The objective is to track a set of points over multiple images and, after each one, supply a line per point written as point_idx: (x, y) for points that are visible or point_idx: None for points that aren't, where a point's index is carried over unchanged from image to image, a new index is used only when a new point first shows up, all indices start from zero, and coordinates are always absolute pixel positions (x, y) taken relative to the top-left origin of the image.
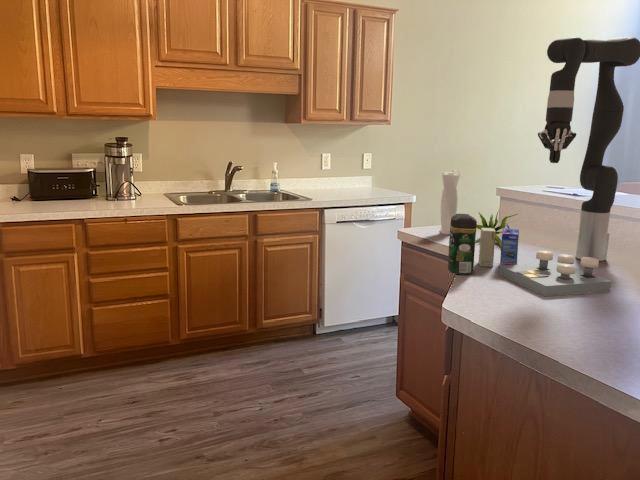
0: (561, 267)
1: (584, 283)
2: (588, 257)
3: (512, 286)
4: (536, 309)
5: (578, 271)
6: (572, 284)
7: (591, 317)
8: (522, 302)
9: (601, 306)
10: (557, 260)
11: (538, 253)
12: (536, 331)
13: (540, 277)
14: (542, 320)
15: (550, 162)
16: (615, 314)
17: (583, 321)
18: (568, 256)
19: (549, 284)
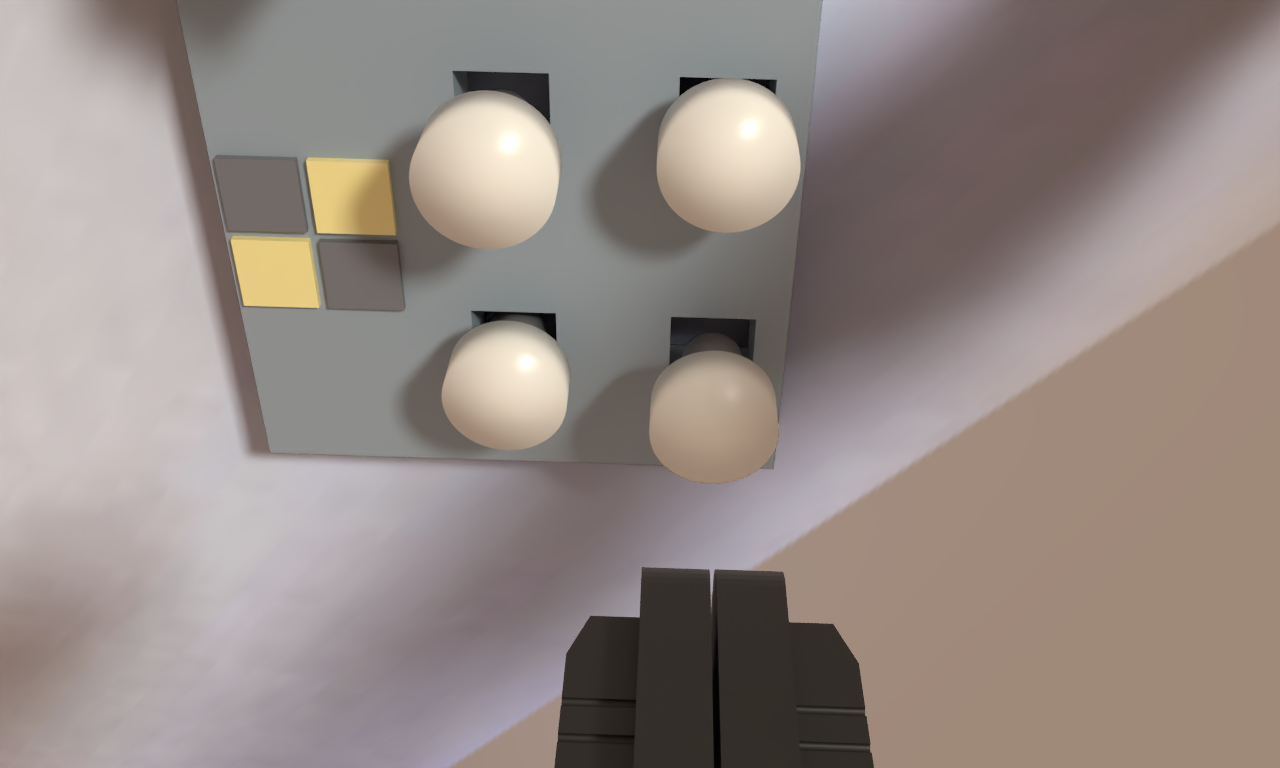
0: (448, 411)
1: (561, 460)
2: (738, 400)
3: (168, 205)
4: (132, 546)
5: (743, 243)
6: (469, 457)
7: (349, 664)
8: (101, 457)
9: (506, 583)
10: (669, 111)
11: (411, 183)
12: (14, 713)
13: (338, 304)
14: (95, 644)
15: (642, 569)
16: (491, 663)
17: (280, 686)
18: (739, 183)
19: (310, 435)
